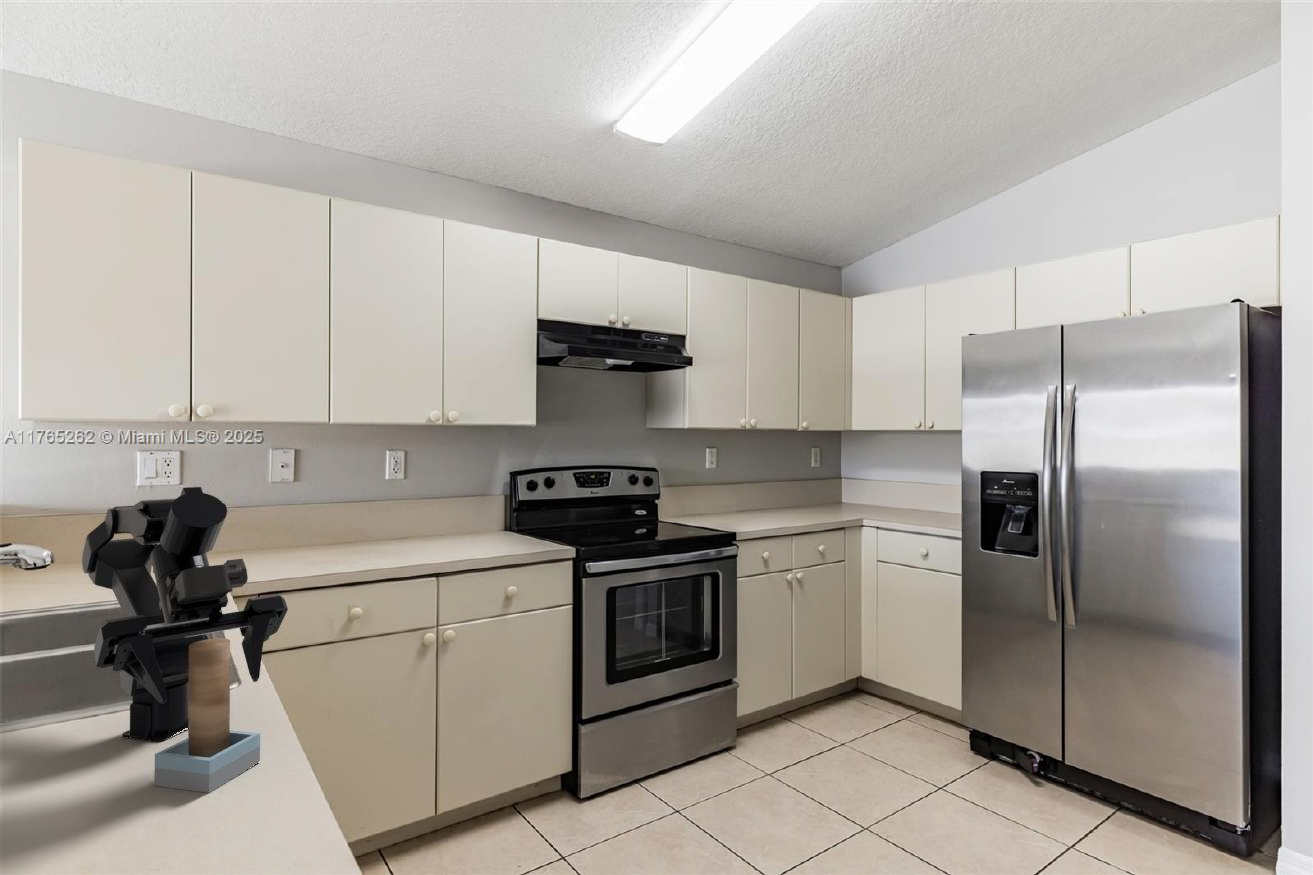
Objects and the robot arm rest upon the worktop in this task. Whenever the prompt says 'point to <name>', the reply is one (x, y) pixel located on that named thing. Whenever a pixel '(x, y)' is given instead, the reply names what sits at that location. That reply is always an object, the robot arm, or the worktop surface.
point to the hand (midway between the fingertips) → (212, 690)
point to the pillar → (209, 697)
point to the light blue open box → (206, 764)
